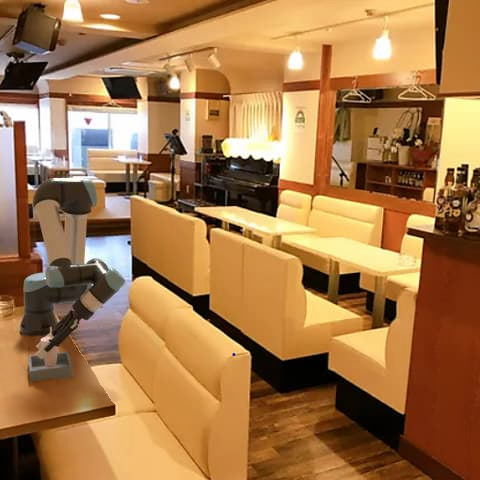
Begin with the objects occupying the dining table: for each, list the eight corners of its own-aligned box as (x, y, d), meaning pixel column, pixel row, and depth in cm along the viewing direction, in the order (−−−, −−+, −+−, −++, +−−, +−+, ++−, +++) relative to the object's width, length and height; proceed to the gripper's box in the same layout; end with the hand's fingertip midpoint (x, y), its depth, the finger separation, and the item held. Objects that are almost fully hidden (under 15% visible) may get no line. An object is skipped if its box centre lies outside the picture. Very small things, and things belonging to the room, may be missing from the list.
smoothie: (49, 370, 193) (48, 330, 191) (37, 366, 197) (35, 327, 195) (64, 364, 199) (63, 326, 197) (51, 361, 202) (51, 323, 200)
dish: (28, 365, 202) (28, 355, 201) (68, 361, 207) (68, 351, 207) (29, 381, 190) (29, 371, 189) (72, 376, 195) (72, 366, 194)
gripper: (97, 321, 190) (46, 370, 188) (93, 303, 208) (47, 348, 206) (80, 307, 188) (29, 357, 186) (78, 290, 206) (31, 336, 204)
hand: (38, 352), depth 196 cm, fingers closed on smoothie, 6 cm apart
